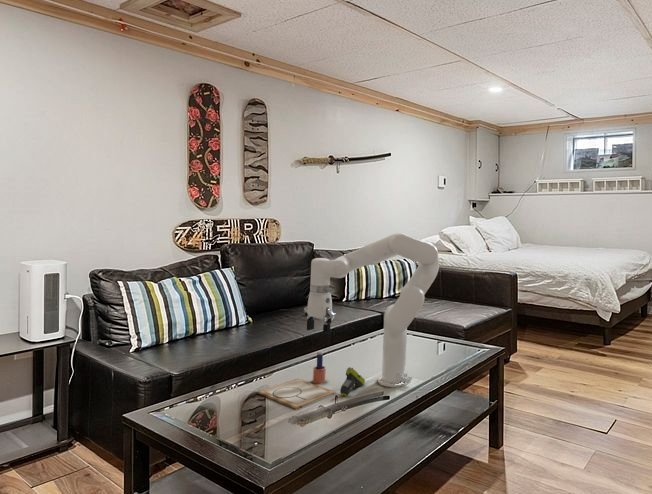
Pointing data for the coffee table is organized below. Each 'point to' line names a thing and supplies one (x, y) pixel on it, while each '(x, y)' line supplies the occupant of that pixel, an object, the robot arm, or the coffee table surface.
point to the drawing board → (296, 393)
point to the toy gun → (351, 381)
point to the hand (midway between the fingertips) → (318, 331)
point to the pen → (319, 359)
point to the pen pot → (319, 374)
